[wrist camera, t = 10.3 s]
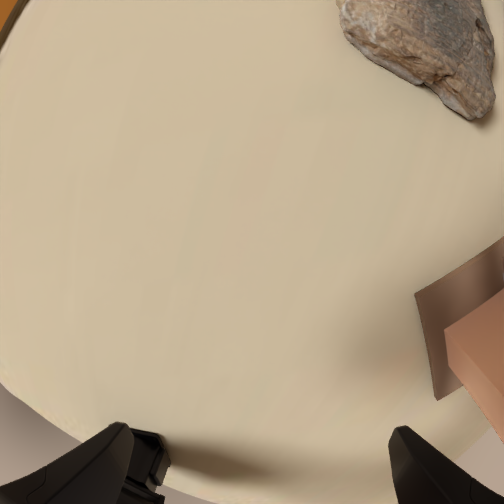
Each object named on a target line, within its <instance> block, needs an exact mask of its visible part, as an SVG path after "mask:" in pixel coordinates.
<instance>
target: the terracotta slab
mask: <svg viewBox="0 0 504 504" xmlns="http://www.w3.org/2000/svg"><path fill="white" fill-rule="evenodd" d="M444 334H445V341H446V348H447V356H448V366H449V367H450V368H451V370H452V371H453V372H454V374H455V375H456V376H457V377H458V379H459V380H460V381H461V383H462V384H463V385H464V387H465V388H466V389H467V391H468V392H469V394H470V395H471V396H472V398H473V399H474V401H475V402H476V403H477V405H478V406H479V408H480V409H481V410H482V412H483V413H484V415H485V416H486V418H487V419H488V421H489V422H490V424H491V425H492V427H493V428H494V430H495V431H496V433H497V434H498V436H499V437H500V439H501V440H502V442H503V443H504V288H503V289H502V290H501V291H499V292H498V293H497V294H496V295H494V296H493V297H492V298H490V299H489V300H487V301H486V302H485V303H483V304H482V305H481V306H479V307H478V308H476V309H475V310H473V311H472V312H470V313H469V314H467V315H466V316H465V317H463V318H461V319H460V320H458V321H457V322H455V323H454V324H452V325H451V326H449V327H447V328H446V329H444Z"/></svg>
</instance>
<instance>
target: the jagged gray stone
mask: <svg viewBox="0 0 504 504" xmlns="http://www.w3.org/2000/svg"><path fill="white" fill-rule="evenodd" d="M336 4H337V6H338V7H339V9H340V15H339V16H340V25H341V27H342V29H343V33H344V35H345V37H346V39H347V40H348V41H350V42H351V43H353V44H354V45H355V46H356V47H357V48H358V49H359V50H360V51H361V52H362V54H363V55H364V56H366V57H367V58H369V59H370V60H372V61H373V62H375V63H377V64H379V65H381V66H383V67H384V68H386V69H388V70H390V71H392V72H393V73H394V74H396V75H397V76H398V77H400V78H402V79H405V80H407V81H409V82H410V83H412V84H414V85H417V84H422V83H424V84H425V85H426V86H428V87H430V88H431V89H432V90H433V91H434V92H435V93H437V94H438V96H439V97H440V99H441V101H442V102H443V103H444V104H445V105H447V106H448V107H449V108H450V109H452V110H454V111H456V112H458V113H459V114H461V115H462V116H464V117H465V118H466V119H468V120H473V119H475V118H476V117H477V118H483V116H484V115H485V114H486V113H487V112H488V111H489V110H491V109H492V107H493V104H494V101H495V98H496V95H495V92H494V89H493V85H492V82H491V79H490V77H491V75H490V73H491V70H492V68H493V59H494V55H495V52H494V38H493V35H492V34H491V31H490V28H489V25H488V23H487V21H486V18H485V16H484V11H483V7H482V5H481V0H336Z"/></svg>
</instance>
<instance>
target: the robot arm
mask: <svg viewBox="0 0 504 504" xmlns="http://www.w3.org/2000/svg"><path fill="white" fill-rule="evenodd" d="M388 448H389V455H390V461H391V469H392V477H393V483H394V487H395V491H396V495H397V499H398V503H399V504H504V497H503V496H501V495H499V494H497V493H495V492H494V491H492V490H490V489H489V488H487V487H486V486H484V485H483V484H481V483H480V482H478V481H477V480H476V479H474V478H472V477H471V476H470V475H469V474H468V473H466V472H465V471H464V470H463V469H461V468H460V467H459V466H457V465H456V464H455V463H453V462H452V461H451V460H450V459H448V458H447V457H446V456H445V455H443V454H442V453H441V452H439V451H438V450H437V449H436V448H434V447H433V446H432V445H431V444H429V443H428V442H427V441H426V440H424V439H423V438H422V437H421V436H419V435H418V434H417V433H416V432H414V431H413V430H412V429H411V428H410V427H408V426H406V425H405V426H400V427H396V428H395V429H394V431H393V433H392V436H391V438H390V440H389V443H388ZM170 465H171V463H170V459H169V457H168V455H167V452H166V450H165V449H164V447H163V444H162V442H161V440H160V437H159V436H158V435H156V434H152V433H147V432H142V431H137V430H133V429H130V428H129V426H128V425H127V424H126V423H122V422H115V423H113V424H110V425H109V426H108V427H107V428H105V429H104V430H102V431H101V432H99V433H98V434H96V435H95V436H93V437H92V438H90V439H88V440H87V441H85V442H84V443H82V444H81V445H79V446H77V447H76V448H74V449H73V450H71V451H69V452H68V453H66V454H64V455H63V456H61V457H59V458H58V459H56V460H54V461H53V462H51V463H49V464H48V465H47V466H44V467H42V468H41V469H39V470H37V471H35V472H33V473H31V474H30V475H27V476H25V477H23V478H20V479H18V480H15V481H13V482H10V483H8V484H5V485H2V486H0V504H164V500H165V496H163V495H161V494H160V495H159V494H157V493H155V490H156V487H157V486H161V485H162V483H163V480H164V478H165V475H166V472H167V469H168V467H170Z"/></svg>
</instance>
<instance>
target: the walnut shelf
mask: <svg viewBox="0 0 504 504" xmlns="http://www.w3.org/2000/svg"><path fill="white" fill-rule="evenodd" d="M503 288H504V237H502V238H501V239H500V240H498V241H497V242H496V243H494V244H493V245H491V246H490V247H489V248H487V249H486V250H484V251H483V252H481V253H480V254H478V255H477V256H475V257H474V258H472V259H471V260H469V261H468V262H466V263H465V264H463V265H462V266H460V267H459V268H457V269H455V270H454V271H452V272H451V273H449V274H447V275H446V276H444V277H442V278H441V279H439V280H438V281H436V282H434V283H432V284H431V285H429V286H427V287H426V288H424V289H422V290H420V291H419V292H417V293H415V298H416V302H417V306H418V310H419V314H420V318H421V323H422V327H423V332H424V336H425V341H426V346H427V351H428V357H429V362H430V368H431V375H432V381H433V388H434V396H435V398H436V400H437V401H438V400H440V399H442V398H443V397H445V396H447V395H448V394H450V393H452V392H453V391H455V390H456V389H458V388H460V387H461V386H463V384H462V383H461V381H460V380H459V379H458V377H457V376H456V375H455V374H454V372H453V371H452V370H451V368H450V367H449V366H448V356H447V348H446V341H445V334H444V329H446V328H447V327H449V326H451V325H452V324H454V323H455V322H457V321H458V320H460V319H461V318H463V317H465V316H466V315H467V314H469V313H470V312H472V311H473V310H475V309H476V308H478V307H479V306H481V305H482V304H483V303H485V302H486V301H487V300H489V299H490V298H492V297H493V296H494V295H496V294H497V293H498V292H499V291H501V290H502V289H503Z"/></svg>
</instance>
